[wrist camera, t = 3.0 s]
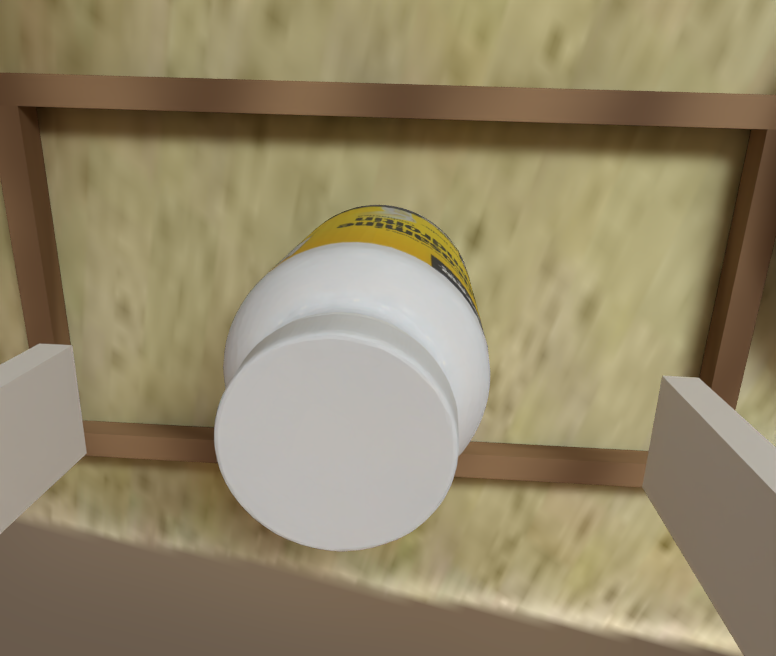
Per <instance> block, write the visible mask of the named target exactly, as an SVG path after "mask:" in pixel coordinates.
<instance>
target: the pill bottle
mask: <svg viewBox="0 0 776 656" xmlns="http://www.w3.org/2000/svg"><path fill="white" fill-rule="evenodd" d="M223 368H224V381H225V391H224V393H223V395H222V397H221V400H220V403H219V406H218V409H217V413H216V418H215V426H214V445H215V452H216V457H217V462H218V465H219V468H220V471H221V473H222V476H223V478H224V480H225V482H226V484H227V486H228V487H229V489H230V491H231V493H232V494H233V496H234V497H235V498H236V500H237V501H238V502H239V503H240V505H241V506H242V507H243V508H244V509H245V510H246V511H247V512H248V513H249V514H250V515H251V516H252V517H253V518H254V519H255V520H257V521H258V522H259V523H261V524H262V525H263V526H265V527H266V528H268V529H269V530H271V531H272V532H274V533H275V534H277V535H279V536H281V537H283V538H285V539H287V540H290V541H293V542H296V543H298V544H301V545H304V546H308V547H312V548H317V549H322V550H329V551H354V550H362V549H368V548H373V547H377V546H380V545H383V544H386V543H389V542H391V541H394V540H397V539H399V538H401V537H403V536H405V535H407V534H408V533H410V532H412V531H413V530H415V529H416V528H417V527H419V526H420V525H421V524H422V523H423V522H425V521H426V520H427V519H428V518H429V517H430V516H431V515H432V514H433V513H434V511H435V510H436V509H437V508H438V507H439V505H440V504H441V503H442V501H443V499H444V498H445V496H446V494H447V492H448V490H449V488H450V486H451V484H452V481H453V478H454V475H455V471H456V468H457V461H458V456H459V455H460V454H461V453H462V452H463V451H464V449H465V448H466V447H467V445H468V444H469V442H470V441H471V439H472V438H473V436H474V434H475V432H476V430H477V428H478V426H479V424H480V422H481V419H482V417H483V414H484V411H485V408H486V404H487V400H488V394H489V387H490V364H489V355H488V346H487V342H486V339H485V336H484V332H483V328H482V324H481V320H480V316H479V312H478V309H477V305H476V301H475V298H474V294H473V291H472V287H471V283H470V280H469V276H468V273H467V270H466V267H465V264H464V261H463V259H462V257H461V255H460V253H459V251H458V250H457V248H456V247H455V245H454V244H453V243H452V241H451V240H450V239H449V237H448V236H447V235H446V234H445V233H444V232H443V231H442V230H441V229H440V228H439V227H437V226H436V225H435V224H434V223H432V222H431V221H429V220H428V219H426V218H424V217H423V216H421V215H419V214H417V213H414V212H412V211H409V210H406V209H403V208H399V207H394V206H388V205H368V206H361V207H356V208H353V209H350V210H347V211H344V212H342V213H340V214H337V215H335V216H333V217H332V218H330V219H328V220H327V221H325V222H324V223H323V224H322V225H320V226H319V227H318V228H316V229H315V230H314V231H313V232H312V233H311V234H310V235H309V236H308V237H306V238H305V239H304V240H303V241H302V242H301V243H300V244H299V245H298V246H297V247H295V248H294V249H293V250H292V251H291V252H290V253H289V254H288V255H287V256H286V257H284V258H283V259H282V260H281V261H280V262H279V263H278V264H277V265H276V266H275V267H274V268H273V269H272V270H270V271H269V272H268V273H267V274H266V275H265V276H264V277H263V278H262V279H261V280H260V281H259V282H258V283H257V284H256V285H255V287H254V288H253V289H252V290H251V291H250V293H249V294H248V295H247V297H246V298H245V300H244V301H243V303H242V304H241V306H240V308H239V310H238V311H237V313H236V315H235V317H234V320H233V322H232V325H231V327H230V330H229V334H228V337H227V340H226V346H225V352H224V366H223Z"/></svg>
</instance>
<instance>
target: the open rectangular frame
mask: <svg viewBox="0 0 776 656" xmlns="http://www.w3.org/2000/svg"><path fill="white" fill-rule="evenodd" d="M36 107H62V108H94V109H126V110H158V111H190V112H222V113H254V114H286V115H319V116H351V117H383V118H415V119H447V120H479V121H511V122H543V123H575V124H607V125H639V126H671V127H703V128H735V129H751V133H750V138H749V143H748V147H747V152H746V157H745V162H744V166H743V171H742V176H741V181H740V186H739V190H738V195H737V200H736V205H735V209H734V214H733V219H732V224H731V229H730V233H729V238H728V243H727V248H726V252H725V257H724V262H723V267H722V272H721V276H720V281H719V286H718V291H717V295H716V300H715V305H714V310H713V315H712V319H711V324H710V329H709V334H708V338H707V343H706V348H705V353H704V358H703V362H702V367H701V372H700V377H699V378H700V379H701V380H702V381H703V382H704V383H705V384H706V385H707V386H708V387H710V388H711V389H712V390H713V391H714V392H715V393H716V394H717V395H718V396H719V397H721V398H722V399H723V400H724V401H725V402H726V403H727V404H728V405H729V406H731V407H732V408H733V409H734V410H735V409H736V405H737V400H738V396H739V392H740V387H741V383H742V379H743V375H744V370H745V366H746V362H747V358H748V353H749V349H750V345H751V340H752V336H753V332H754V328H755V323H756V319H757V315H758V311H759V306H760V302H761V298H762V293H763V289H764V285H765V281H766V276H767V272H768V268H769V264H770V259H771V255H772V251H773V246H774V242H775V238H776V95H760V94H725V93H690V92H655V91H621V90H586V89H551V88H516V87H482V86H447V85H412V84H377V83H342V82H308V81H273V80H238V79H203V78H169V77H134V76H99V75H64V74H29V73H0V178H1V184H2V190H3V196H4V202H5V208H6V214H7V220H8V226H9V232H10V238H11V244H12V249H13V255H14V261H15V267H16V273H17V279H18V285H19V291H20V297H21V303H22V309H23V315H24V321H25V326H26V332H27V338H28V344H29V349H30V348H32V347H34V346H36V345H38V344H59V345H71V344H70V337H69V330H68V324H67V317H66V310H65V303H64V296H63V289H62V282H61V275H60V268H59V262H58V255H57V248H56V241H55V234H54V227H53V220H52V213H51V207H50V200H49V193H48V186H47V179H46V172H45V165H44V158H43V152H42V145H41V138H40V131H39V124H38V117H37V110H36ZM82 422H83V429H84V437H85V444H86V452H87V453H86V454H85V455H84V456H101V457H119V458H137V459H154V460H172V461H189V462H207V463H218V462H217V457H216V452H215V445H214V428H211V427H193V426H174V425H156V424H137V423H119V422H100V421H82ZM648 452H649V451H635V450H616V449H598V448H579V447H561V446H543V445H524V444H506V443H487V442H469V444H468V445H467V447H466V448H465V449H464V451H463V452H462V453H461V454H460V455H459V456H458V461H457V468H456V471H455V475H454V477H471V478H488V479H506V480H524V481H541V482H559V483H576V484H594V485H612V486H629V487H642V485H643V480H644V474H645V469H646V463H647V458H648Z"/></svg>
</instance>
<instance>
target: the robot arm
mask: <svg viewBox="0 0 776 656" xmlns="http://www.w3.org/2000/svg"><path fill="white" fill-rule="evenodd" d="M86 453H87V452H86V444H85V437H84V429H83V422H82V414H81V407H80V399H79V392H78V384H77V377H76V370H75V362H74V355H73V347H72V345H59V344H38V345H36V346H34V347H32V348H30V349H28V350H27V351H25V352H23V353H21V354H19V355H17V356H15V357H14V358H12V359H10V360H8V361H6V362H4V363H2V364H1V365H0V534H1V533H2V532H3V531H4V530H5V529H6V528H7V527H8V526H9V525H10V524H11V523H12V522H14V521H15V520H16V519H17V518H18V517H19V516H20V515H21V514H22V513H23V512H24V511H25V510H26V509H27V508H29V507H30V506H31V505H32V504H33V503H34V502H35V501H36V500H37V499H38V498H39V497H40V496H41V495H42V494H44V493H45V492H46V491H47V490H48V489H49V488H50V487H51V486H52V485H53V484H54V483H55V482H56V481H58V480H59V479H60V478H61V477H62V476H63V475H64V474H65V473H66V472H67V471H68V470H69V469H70V468H71V467H73V466H74V465H75V464H76V463H77V462H78V461H79V460H80V459H81V458H82V457H83V456H84V455H85V454H86ZM642 488H643V489H644V491H645V493H646V494H647V496H648V498H649V499H650V501H651V503H652V504H653V506H654V508H655V509H656V511H657V513H658V514H659V516H660V518H661V519H662V521H663V522H664V524H665V526H666V527H667V529H668V531H669V532H670V534H671V536H672V537H673V539H674V541H675V542H676V544H677V546H678V547H679V549H680V551H681V552H682V554H683V556H684V557H685V559H686V561H687V562H688V564H689V566H690V567H691V569H692V571H693V572H694V574H695V576H696V577H697V579H698V581H699V582H700V584H701V586H702V587H703V589H704V591H705V592H706V594H707V595H708V597H709V599H710V600H711V602H712V604H713V605H714V607H715V609H716V610H717V612H718V614H719V615H720V617H721V619H722V620H723V622H724V624H725V625H726V627H727V629H728V630H729V632H730V634H731V635H732V637H733V639H734V640H735V642H736V644H737V645H738V647H739V649H740V650H741V652H742V654H743V655H744V656H776V447H775V446H774V445H773V444H771V443H770V442H769V441H768V440H767V439H766V438H765V437H764V436H763V435H761V434H760V433H759V432H758V431H757V430H756V429H755V428H754V427H753V426H752V425H750V424H749V423H748V422H747V421H746V420H745V419H744V418H743V417H742V416H740V415H739V414H738V413H737V412H736V411H735V410H734V409H733V408H732V407H731V406H729V405H728V404H727V403H726V402H725V401H724V400H723V399H722V398H721V397H719V396H718V395H717V394H716V393H715V392H714V391H713V390H712V389H711V388H710V387H708V386H707V385H706V384H705V383H704V382H703V381H702V380H701V379H700V378H697V377H677V376H662V380H661V386H660V391H659V397H658V402H657V408H656V413H655V419H654V424H653V430H652V435H651V441H650V447H649V452H648V458H647V463H646V469H645V474H644V480H643V485H642Z"/></svg>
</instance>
